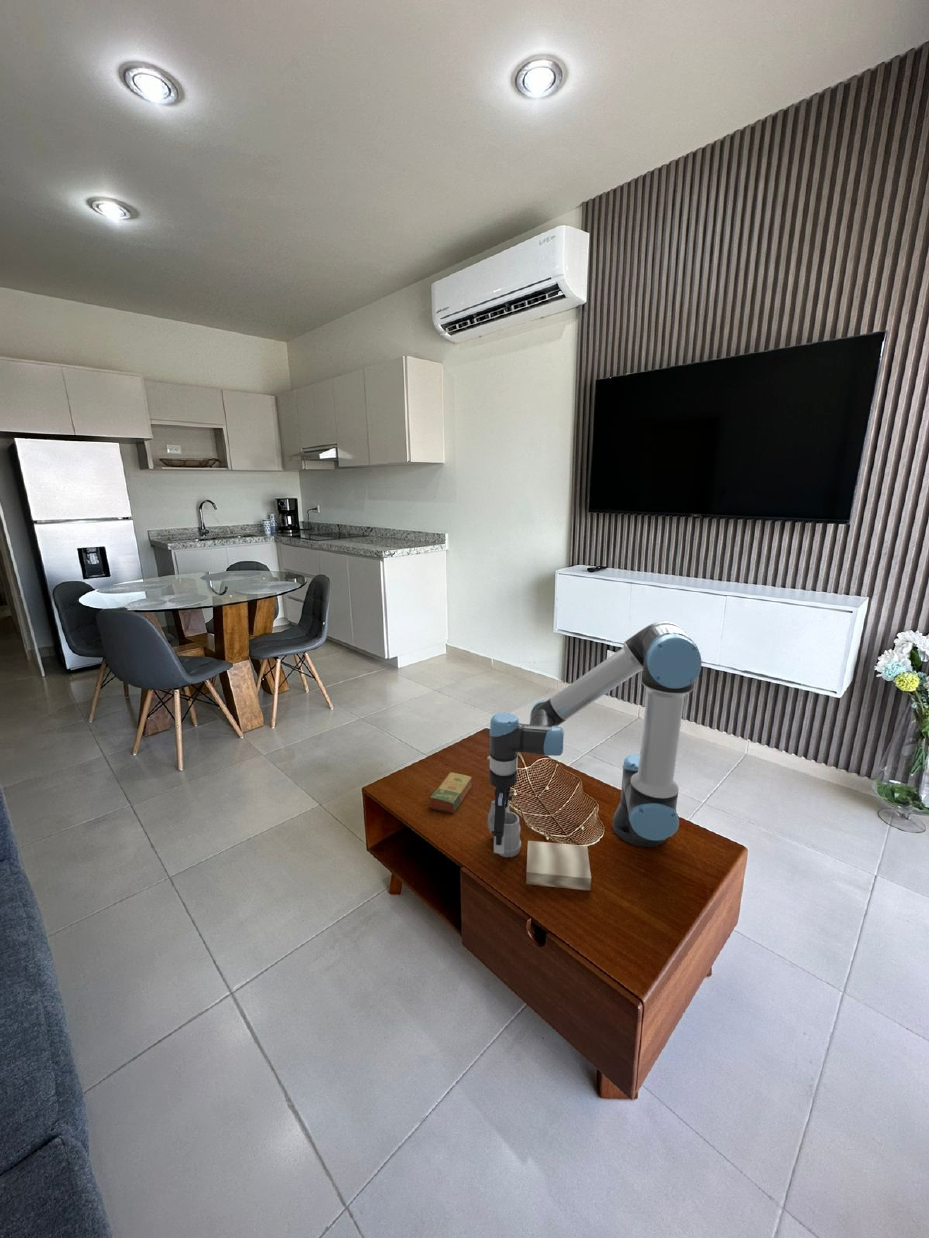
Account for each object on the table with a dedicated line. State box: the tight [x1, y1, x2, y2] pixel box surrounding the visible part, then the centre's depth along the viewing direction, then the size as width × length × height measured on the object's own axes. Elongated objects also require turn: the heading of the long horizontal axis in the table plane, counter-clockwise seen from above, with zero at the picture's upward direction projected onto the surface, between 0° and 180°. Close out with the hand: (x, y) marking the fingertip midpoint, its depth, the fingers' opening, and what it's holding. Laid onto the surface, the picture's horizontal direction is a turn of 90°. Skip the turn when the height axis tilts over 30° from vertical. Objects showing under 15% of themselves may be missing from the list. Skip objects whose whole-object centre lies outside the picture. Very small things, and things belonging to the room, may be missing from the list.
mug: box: [487, 800, 522, 858], centre depth 143 cm, size 8×12×12 cm, turn 39°
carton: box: [429, 771, 473, 814], centre depth 166 cm, size 8×16×4 cm, turn 158°
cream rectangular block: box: [525, 840, 592, 892], centre depth 134 cm, size 16×12×4 cm
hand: (501, 836), depth 144 cm, fingers open, 13 cm apart
